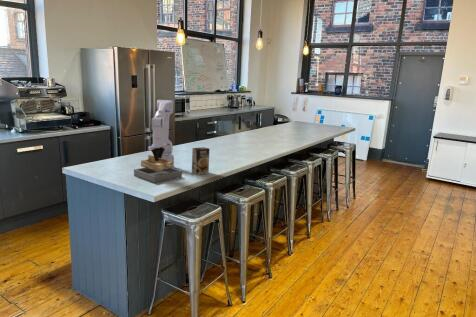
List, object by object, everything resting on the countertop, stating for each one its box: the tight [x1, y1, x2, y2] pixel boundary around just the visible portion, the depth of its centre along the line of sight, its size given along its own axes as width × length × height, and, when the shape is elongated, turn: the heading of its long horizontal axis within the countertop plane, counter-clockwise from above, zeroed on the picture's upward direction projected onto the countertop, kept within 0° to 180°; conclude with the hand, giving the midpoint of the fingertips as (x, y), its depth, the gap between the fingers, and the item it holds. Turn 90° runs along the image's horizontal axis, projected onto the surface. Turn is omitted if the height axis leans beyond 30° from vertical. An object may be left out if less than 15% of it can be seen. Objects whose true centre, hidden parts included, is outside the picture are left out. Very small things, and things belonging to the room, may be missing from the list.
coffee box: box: [191, 146, 210, 176], centre depth 227 cm, size 9×6×16 cm
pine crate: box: [140, 154, 173, 171], centre depth 215 cm, size 13×13×6 cm
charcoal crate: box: [133, 167, 183, 184], centre depth 216 cm, size 20×20×4 cm
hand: (157, 160), depth 215 cm, fingers closed on pine crate
